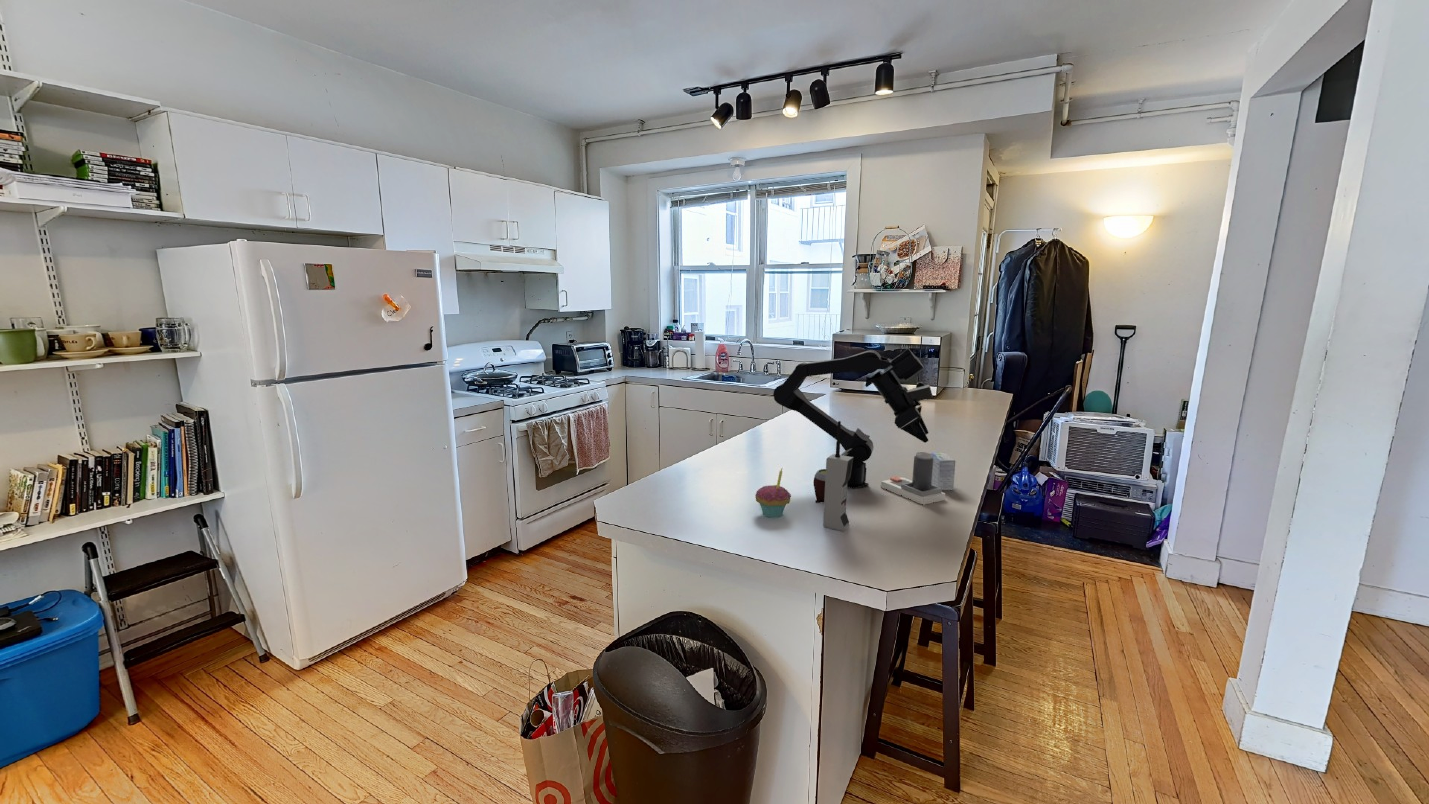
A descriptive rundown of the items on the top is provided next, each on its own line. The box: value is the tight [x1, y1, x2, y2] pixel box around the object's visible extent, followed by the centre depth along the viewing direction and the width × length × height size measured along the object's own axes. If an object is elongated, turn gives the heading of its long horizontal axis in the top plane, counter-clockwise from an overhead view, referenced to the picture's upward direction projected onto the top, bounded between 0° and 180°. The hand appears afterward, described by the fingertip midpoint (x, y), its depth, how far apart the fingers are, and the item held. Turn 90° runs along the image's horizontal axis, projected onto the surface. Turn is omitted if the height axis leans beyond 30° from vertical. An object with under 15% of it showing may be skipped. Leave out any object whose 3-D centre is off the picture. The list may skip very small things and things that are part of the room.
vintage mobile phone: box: [822, 420, 853, 532], centre depth 129 cm, size 4×5×25 cm
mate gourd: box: [813, 448, 852, 504], centre depth 146 cm, size 8×8×15 cm
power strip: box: [880, 476, 946, 506], centre depth 154 cm, size 8×15×3 cm, turn 28°
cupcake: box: [754, 468, 792, 519], centre depth 138 cm, size 9×8×12 cm
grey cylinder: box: [911, 451, 933, 491], centre depth 151 cm, size 5×5×10 cm
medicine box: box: [930, 452, 956, 491], centre depth 160 cm, size 8×4×9 cm, turn 179°
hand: (927, 437), depth 152 cm, fingers open, 9 cm apart
